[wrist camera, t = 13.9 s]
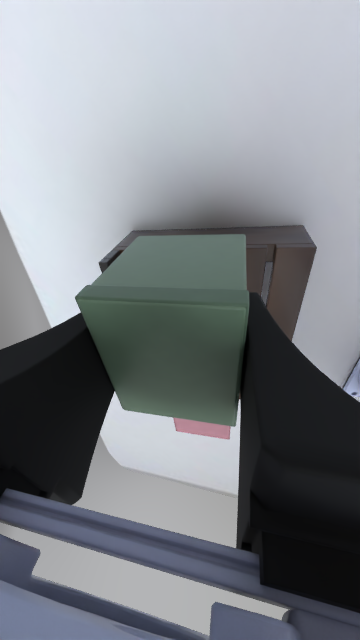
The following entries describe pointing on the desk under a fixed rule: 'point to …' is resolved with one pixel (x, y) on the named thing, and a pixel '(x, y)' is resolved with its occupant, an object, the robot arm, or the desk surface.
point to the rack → (259, 264)
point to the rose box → (202, 428)
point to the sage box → (173, 325)
